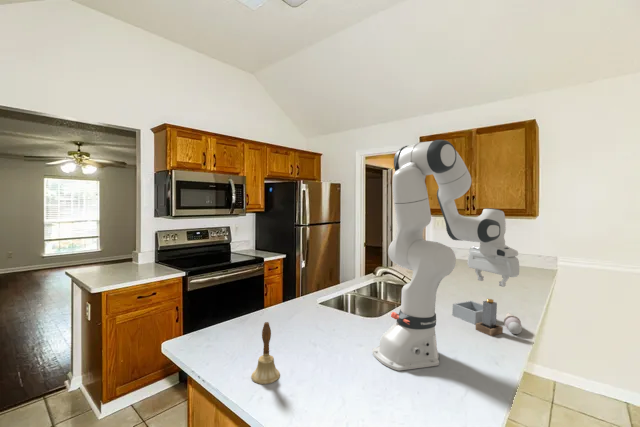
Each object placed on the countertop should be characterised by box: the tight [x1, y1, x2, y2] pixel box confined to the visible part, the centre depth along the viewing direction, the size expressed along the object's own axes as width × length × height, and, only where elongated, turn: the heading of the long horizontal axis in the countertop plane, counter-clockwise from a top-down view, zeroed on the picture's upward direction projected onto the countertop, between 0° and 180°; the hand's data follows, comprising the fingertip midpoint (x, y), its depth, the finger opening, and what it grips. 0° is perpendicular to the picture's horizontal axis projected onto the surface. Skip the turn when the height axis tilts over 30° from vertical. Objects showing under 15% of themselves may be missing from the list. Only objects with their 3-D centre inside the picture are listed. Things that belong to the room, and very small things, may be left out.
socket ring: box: [475, 322, 504, 337], centre depth 126 cm, size 7×7×2 cm
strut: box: [482, 298, 498, 329], centre depth 126 cm, size 4×4×13 cm
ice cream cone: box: [503, 312, 522, 335], centre depth 129 cm, size 6×6×15 cm
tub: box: [451, 300, 483, 326], centre depth 141 cm, size 12×12×5 cm
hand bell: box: [250, 321, 281, 385], centre depth 91 cm, size 8×8×16 cm
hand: (491, 283), depth 126 cm, fingers open, 8 cm apart
